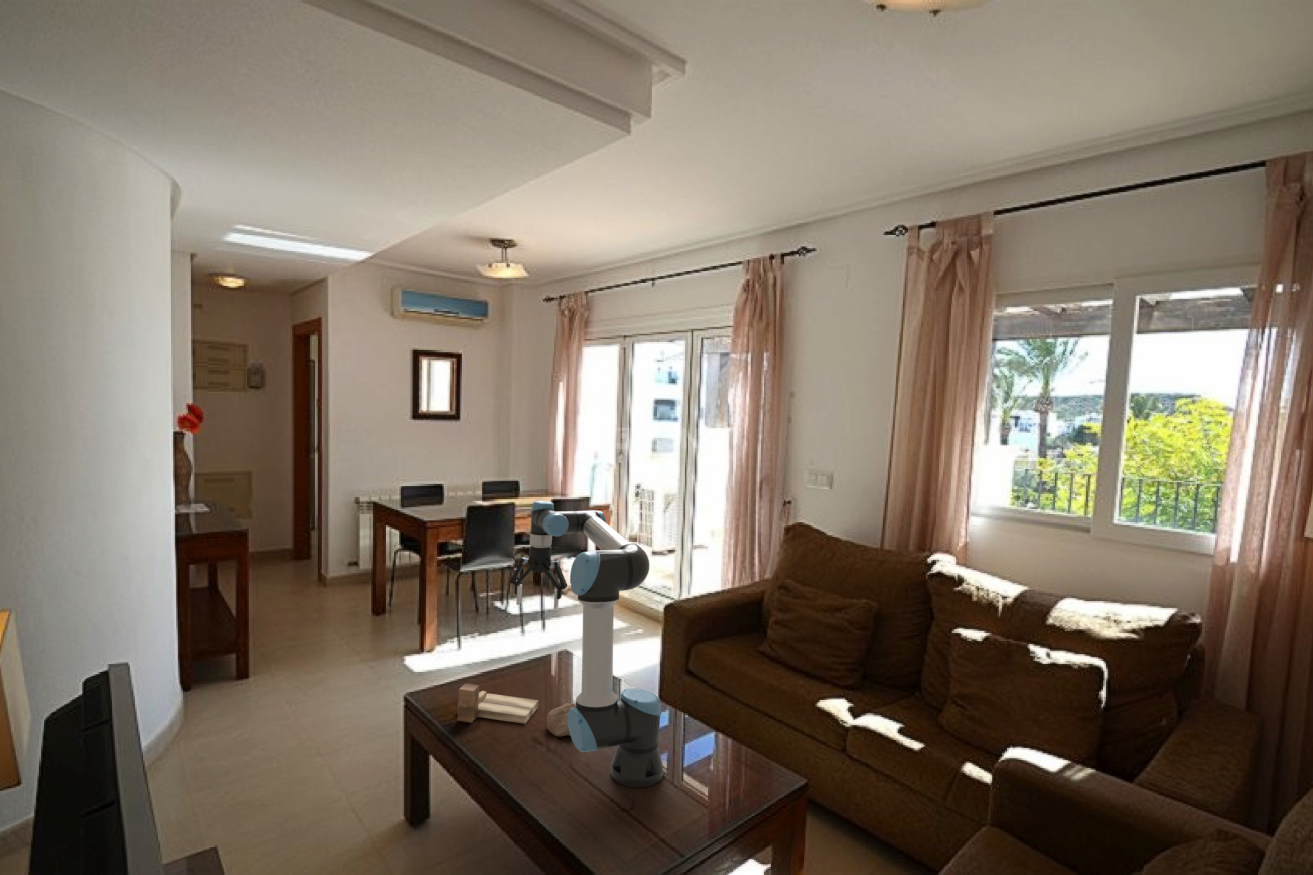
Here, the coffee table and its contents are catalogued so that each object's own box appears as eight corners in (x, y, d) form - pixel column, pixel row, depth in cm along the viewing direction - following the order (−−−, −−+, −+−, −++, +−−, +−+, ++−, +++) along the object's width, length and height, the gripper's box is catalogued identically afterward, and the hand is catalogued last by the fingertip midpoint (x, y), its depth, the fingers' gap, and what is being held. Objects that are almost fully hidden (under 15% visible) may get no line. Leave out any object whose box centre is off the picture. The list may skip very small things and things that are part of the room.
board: (525, 723, 207) (525, 715, 207) (457, 713, 211) (457, 706, 211) (538, 707, 218) (538, 700, 218) (473, 698, 222) (473, 691, 222)
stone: (587, 735, 206) (585, 702, 211) (584, 733, 198) (583, 699, 203) (549, 739, 205) (548, 706, 210) (544, 737, 197) (544, 703, 202)
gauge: (470, 723, 204) (472, 691, 204) (456, 721, 205) (458, 689, 205) (490, 703, 219) (491, 673, 218) (476, 701, 220) (478, 671, 219)
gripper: (578, 546, 221) (574, 606, 221) (511, 540, 225) (507, 599, 226) (571, 551, 213) (568, 612, 214) (502, 544, 218) (499, 604, 218)
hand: (537, 605), depth 220 cm, fingers open, 13 cm apart
